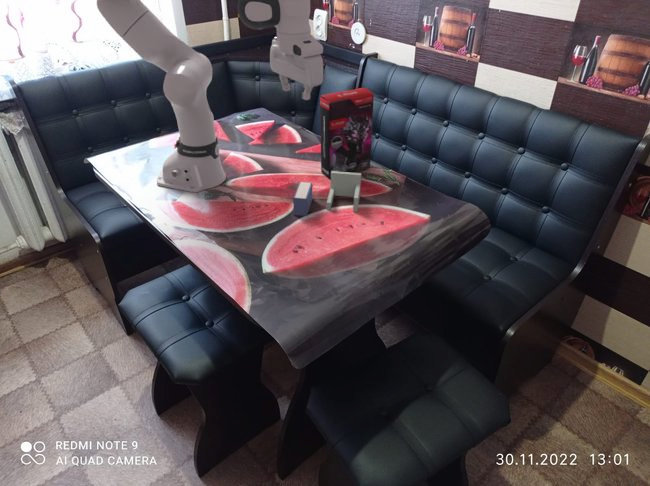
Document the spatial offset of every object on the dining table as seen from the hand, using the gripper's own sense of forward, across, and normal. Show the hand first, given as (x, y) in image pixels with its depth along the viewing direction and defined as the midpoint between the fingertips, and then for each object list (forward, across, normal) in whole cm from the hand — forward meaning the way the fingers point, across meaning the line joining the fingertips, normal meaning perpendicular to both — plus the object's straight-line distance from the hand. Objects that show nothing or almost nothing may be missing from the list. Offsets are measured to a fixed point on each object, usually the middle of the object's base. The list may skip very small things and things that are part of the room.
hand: (296, 94), depth 134 cm
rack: (+33, +11, +9) cm, 36 cm away
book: (+33, +5, -3) cm, 34 cm away
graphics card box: (+33, -5, +23) cm, 41 cm away
